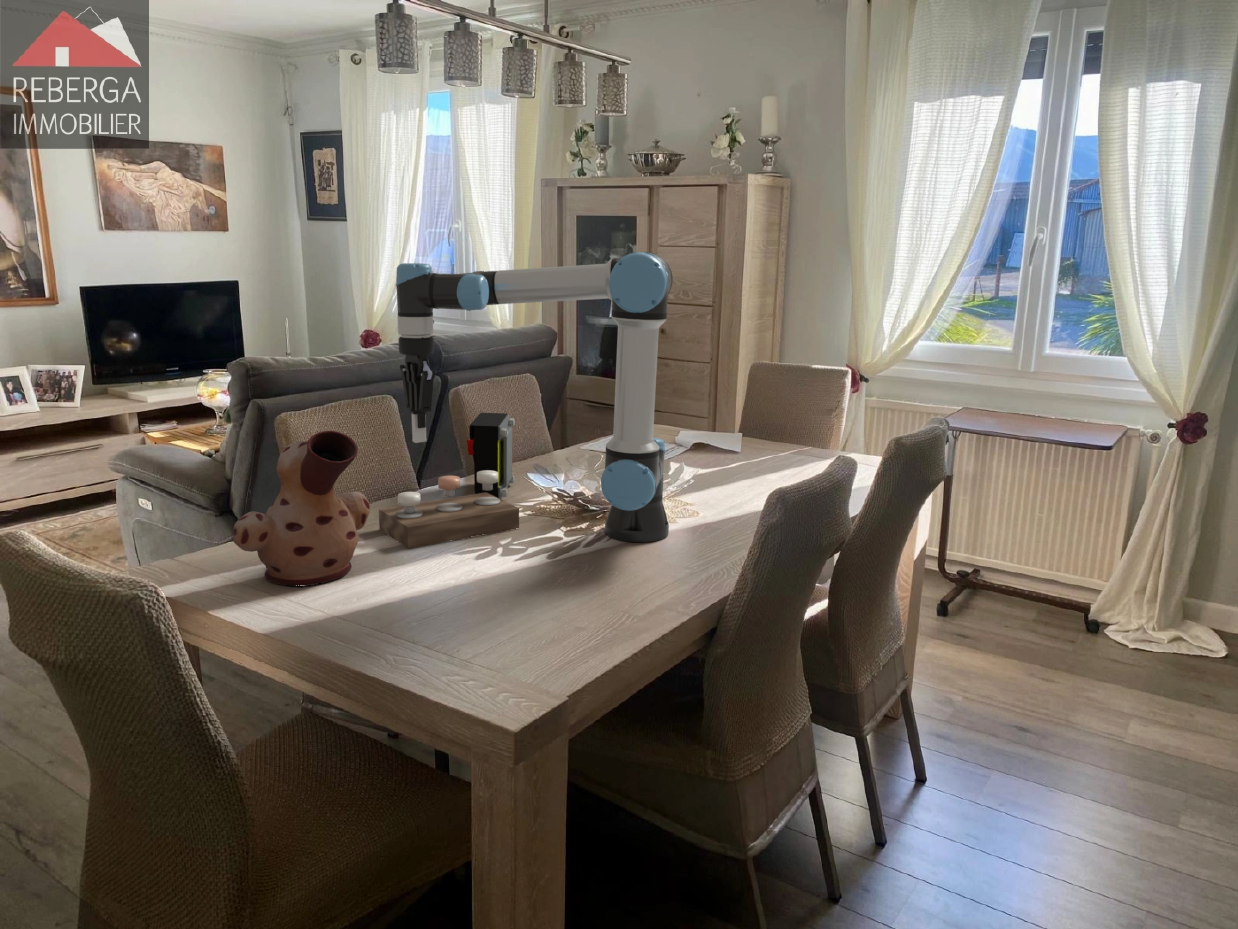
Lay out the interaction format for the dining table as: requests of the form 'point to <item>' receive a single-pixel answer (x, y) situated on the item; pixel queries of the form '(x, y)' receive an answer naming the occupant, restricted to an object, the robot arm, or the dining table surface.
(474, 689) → the dining table surface
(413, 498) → the left knob
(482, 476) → the right knob
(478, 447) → the electrical component
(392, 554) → the dining table surface
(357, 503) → the vessel
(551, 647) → the dining table surface
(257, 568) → the dining table surface
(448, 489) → the middle knob
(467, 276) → the robot arm
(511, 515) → the knob bar
